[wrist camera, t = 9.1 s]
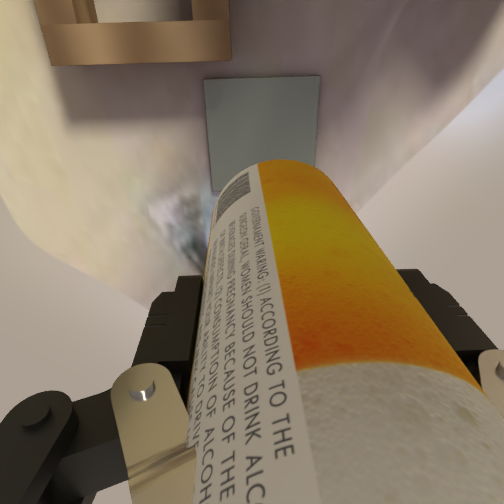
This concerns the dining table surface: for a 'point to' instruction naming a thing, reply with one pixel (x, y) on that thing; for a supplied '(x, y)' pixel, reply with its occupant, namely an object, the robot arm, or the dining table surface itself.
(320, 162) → the dining table surface
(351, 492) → the beer can
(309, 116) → the mat
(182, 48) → the pocket block
